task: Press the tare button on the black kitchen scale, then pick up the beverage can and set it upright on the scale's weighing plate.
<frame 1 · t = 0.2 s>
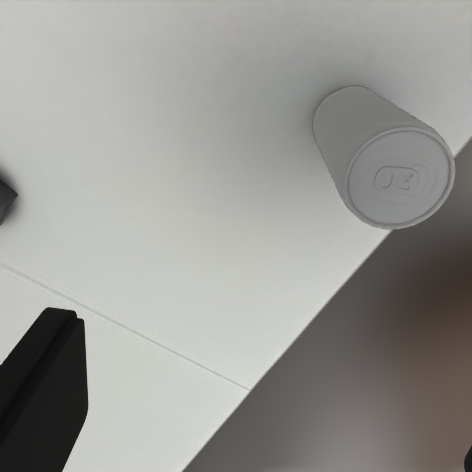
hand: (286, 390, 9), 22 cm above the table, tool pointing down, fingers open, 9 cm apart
beverage can: (346, 121, 28), on the table
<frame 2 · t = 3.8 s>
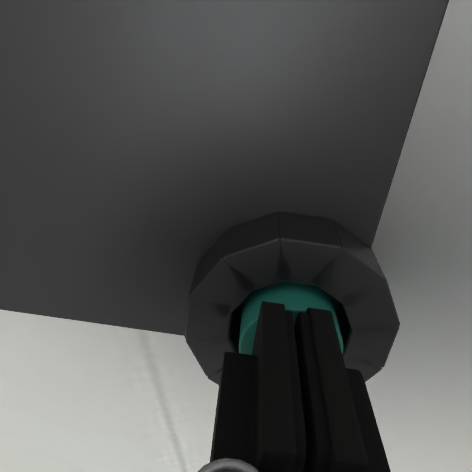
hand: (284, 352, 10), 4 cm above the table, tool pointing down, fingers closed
scale: (140, 126, 12), on the table
tare button: (288, 331, 11), point 3 cm above the table, slide at -0.4 cm, touching gripper
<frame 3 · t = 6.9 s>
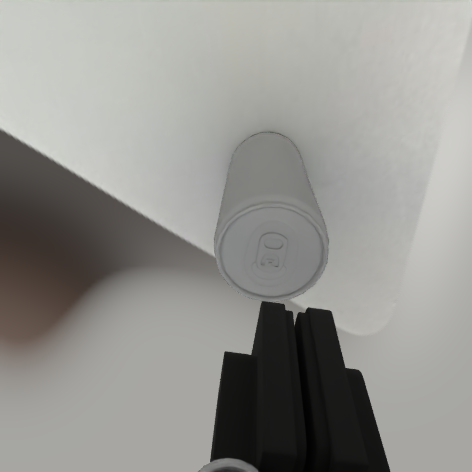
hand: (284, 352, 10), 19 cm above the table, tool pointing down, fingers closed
beverage can: (265, 165, 28), on the table
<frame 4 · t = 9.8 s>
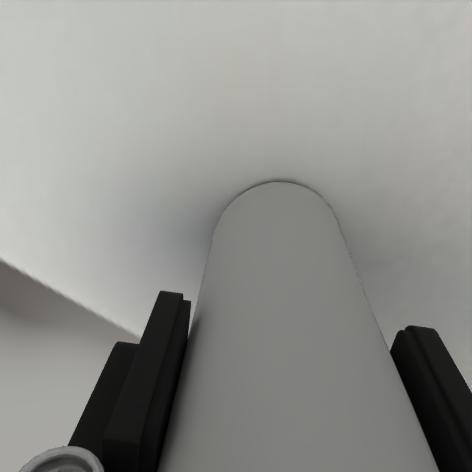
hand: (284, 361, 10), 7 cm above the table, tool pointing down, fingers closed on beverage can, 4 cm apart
beverage can: (276, 233, 16), on the table, touching gripper
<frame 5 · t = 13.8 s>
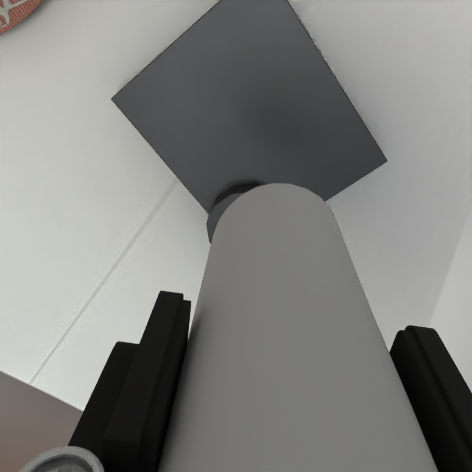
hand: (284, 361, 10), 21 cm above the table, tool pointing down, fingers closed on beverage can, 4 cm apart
scale: (251, 124, 29), on the table
beverage can: (276, 234, 16), point 14 cm above the table, touching gripper
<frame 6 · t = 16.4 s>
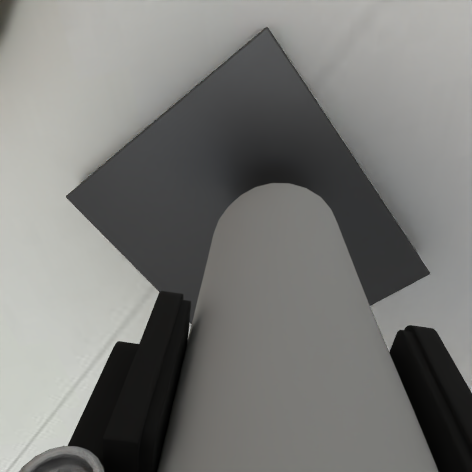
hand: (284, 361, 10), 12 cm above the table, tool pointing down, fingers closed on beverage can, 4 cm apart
scale: (252, 220, 22), on the table
beverage can: (276, 234, 16), point 6 cm above the table, touching gripper
when the fingers open (9 cm above the table, at t = 18.0 s): beverage can stays where it is, resting on scale.
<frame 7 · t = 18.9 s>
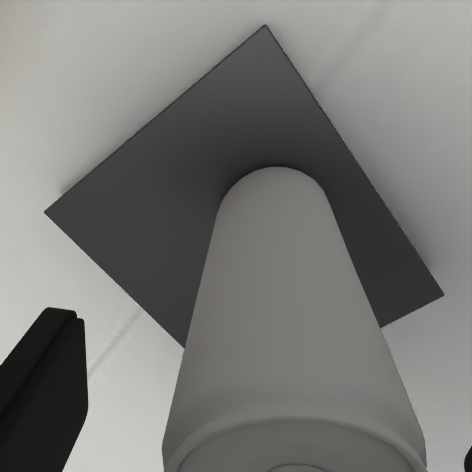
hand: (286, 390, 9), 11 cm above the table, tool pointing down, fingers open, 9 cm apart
scale: (249, 235, 20), on the table
beverage can: (273, 215, 18), point 2 cm above the table, touching scale
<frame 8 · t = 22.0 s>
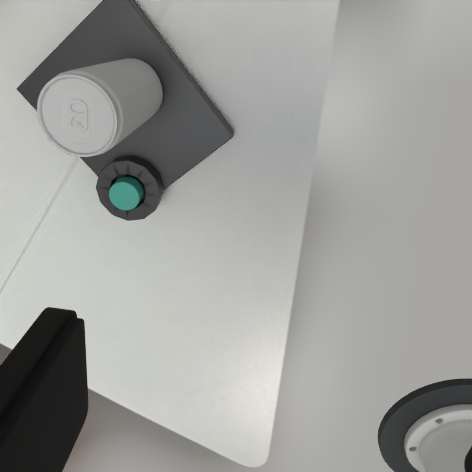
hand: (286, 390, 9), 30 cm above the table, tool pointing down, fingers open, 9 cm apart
scale: (132, 109, 37), on the table
tare button: (126, 193, 36), point 4 cm above the table, slide at 0.1 cm
beverage can: (136, 89, 34), point 2 cm above the table, touching scale
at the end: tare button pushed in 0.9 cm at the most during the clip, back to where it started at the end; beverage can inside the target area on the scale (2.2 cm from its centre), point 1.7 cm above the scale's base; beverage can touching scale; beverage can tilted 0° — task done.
